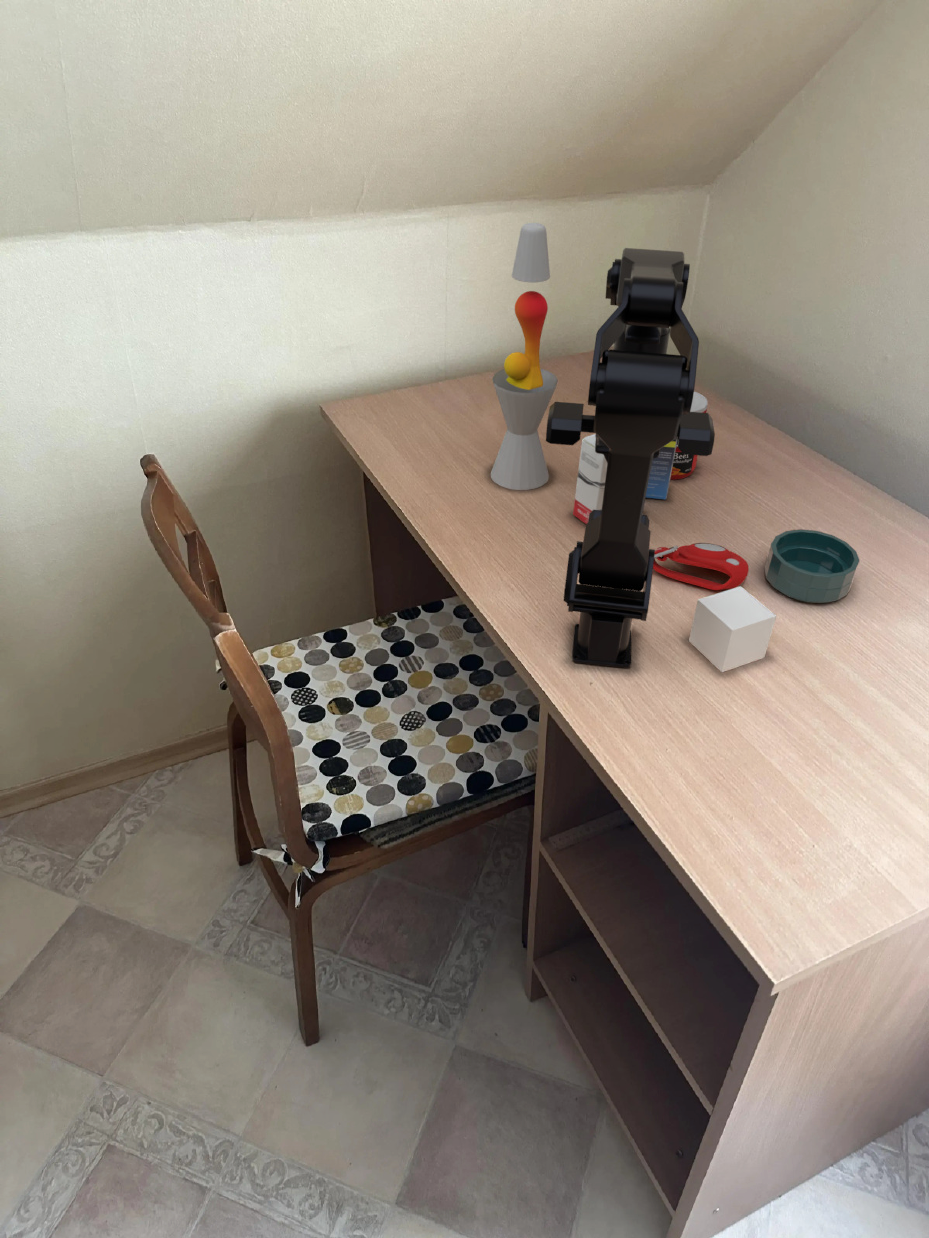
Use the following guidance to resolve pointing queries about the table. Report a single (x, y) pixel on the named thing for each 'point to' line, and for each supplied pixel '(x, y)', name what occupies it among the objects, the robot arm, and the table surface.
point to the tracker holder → (704, 564)
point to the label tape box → (661, 472)
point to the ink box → (589, 480)
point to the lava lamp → (525, 374)
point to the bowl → (811, 566)
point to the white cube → (731, 628)
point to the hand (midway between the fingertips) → (620, 492)
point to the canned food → (683, 462)
